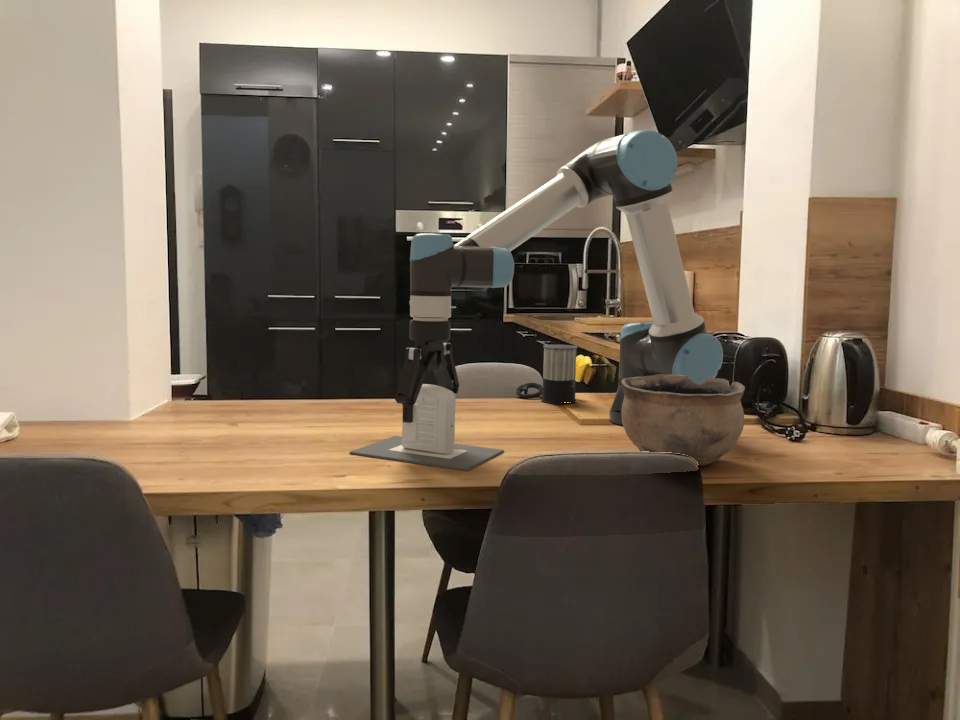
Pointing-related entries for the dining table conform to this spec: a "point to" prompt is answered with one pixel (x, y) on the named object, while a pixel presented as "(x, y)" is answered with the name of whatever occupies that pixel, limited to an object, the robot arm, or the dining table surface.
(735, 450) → the dining table surface
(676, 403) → the ceramic bowl
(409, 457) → the mat
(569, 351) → the milk frother
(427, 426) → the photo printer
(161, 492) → the dining table surface
